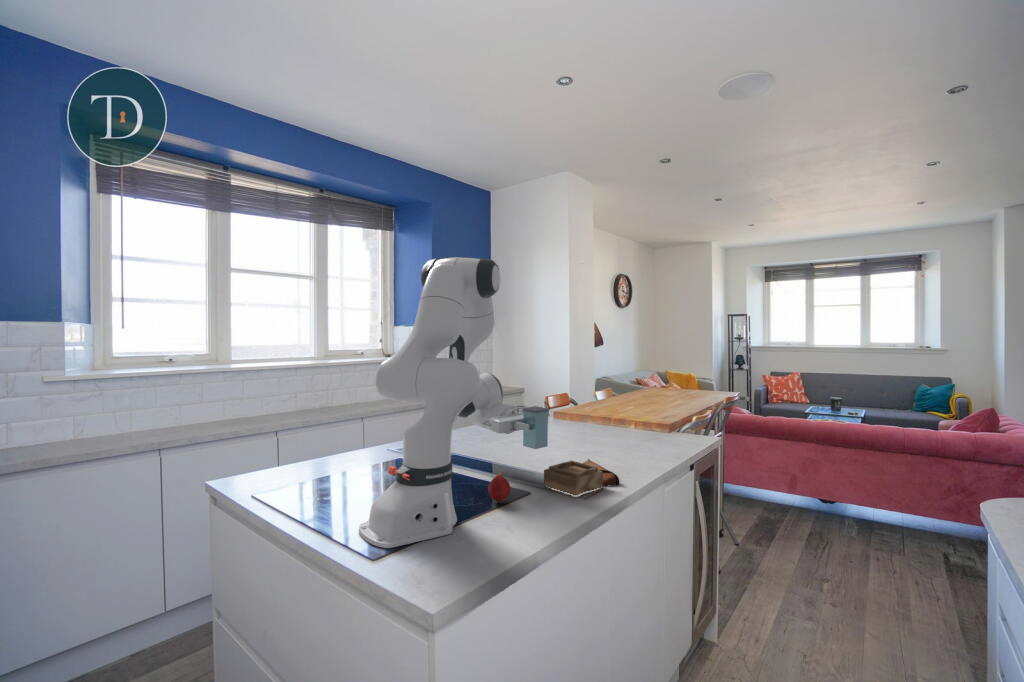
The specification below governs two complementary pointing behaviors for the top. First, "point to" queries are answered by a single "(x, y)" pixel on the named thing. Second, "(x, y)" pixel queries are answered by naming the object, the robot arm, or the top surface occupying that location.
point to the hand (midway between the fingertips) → (537, 425)
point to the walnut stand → (573, 477)
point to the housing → (536, 427)
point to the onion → (499, 488)
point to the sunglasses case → (605, 474)
